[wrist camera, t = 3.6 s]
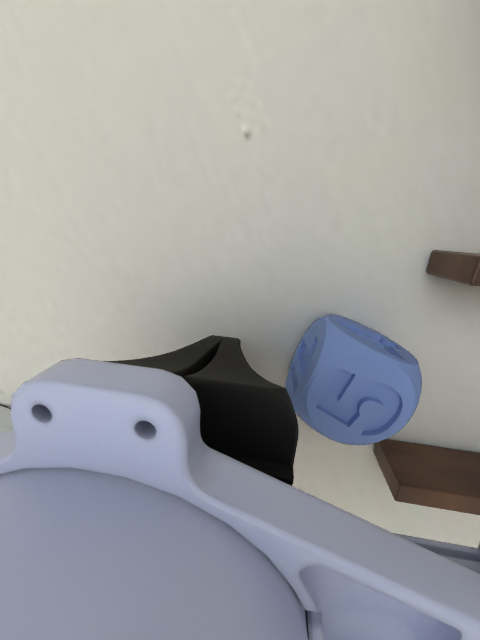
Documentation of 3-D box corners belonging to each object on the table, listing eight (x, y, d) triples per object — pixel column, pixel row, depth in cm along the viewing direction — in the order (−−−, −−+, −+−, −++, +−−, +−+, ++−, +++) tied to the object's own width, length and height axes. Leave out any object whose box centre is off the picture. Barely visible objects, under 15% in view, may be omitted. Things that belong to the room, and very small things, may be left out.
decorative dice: (319, 305, 13) (336, 335, 9) (395, 338, 13) (442, 380, 9) (283, 372, 14) (286, 421, 11) (352, 402, 15) (379, 462, 11)
